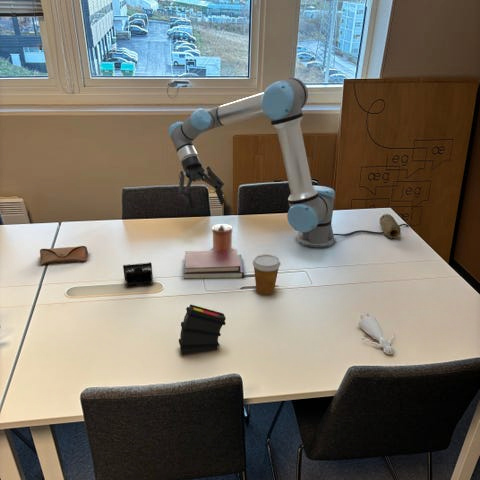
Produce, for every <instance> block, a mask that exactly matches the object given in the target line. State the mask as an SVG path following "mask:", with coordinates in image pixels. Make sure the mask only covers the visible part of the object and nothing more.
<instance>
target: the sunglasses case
mask: <svg viewBox="0 0 480 480" xmlns="http://www.w3.org/2000/svg"><path fill="white" fill-rule="evenodd" d="M39 255H40V257H39V258H40V259H39V266H46V265H57V264H74V263H83V262H87V261H88V258H89V252H88V248H87V246H85V245H79V246H67V247H53V248H40V250H39Z"/></svg>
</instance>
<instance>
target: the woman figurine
mask: <svg viewBox="0 0 480 480" xmlns="http://www.w3.org/2000/svg"><path fill="white" fill-rule="evenodd" d="M358 327H359V328H360V329H362V330H363V331H364V332H365V333H366V334H367V335H369V336H370V337H371V338H372V339H374V340H376V341H378V342H379V343H378V342H375V341H372V340H368V339H366V338H365V336H362V337H360V340H361V341H365V342H368V343H370V344H372V345H375V346H377V347H379V348H382V349H383V353H384V354H386V355H392V354H394V352H395V350H394V347H393V346H392V345H391V343H392V341H393V339H394V337H395V335H396V332H393V333H392V336H391V337H390V338H389V340H388V337H384V336H385V335H384V332H383V330H382V328H381V326H380V324H379V321H378V319H377V317H376V316H374V315H370V314H369V313H367V315H366V316H364V315H363V314H360V320H359V322H358Z"/></svg>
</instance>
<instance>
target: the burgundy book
mask: <svg viewBox="0 0 480 480" xmlns="http://www.w3.org/2000/svg"><path fill="white" fill-rule="evenodd" d="M238 255H239V254H238V250H237V249H232V250H217V251H213V250H191V251H190V250H188V251H187V250H186V251H185V252H184V261H185V271H186V273H213V272H240V263H239V258H238Z"/></svg>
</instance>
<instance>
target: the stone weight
mask: <svg viewBox="0 0 480 480" xmlns="http://www.w3.org/2000/svg"><path fill="white" fill-rule="evenodd" d="M379 225H380V228H381V230H382V232H384V235H385V236H386V237H387V238H389V239H397V238H399V237H400V235H401V231H402V230H401V226H400V227H399V225H400V224H398V222H397V220H396V219H395V218H394V217H393V216H392V215H391V214H389V213H384V214H382V215H381V216H380V217H379Z"/></svg>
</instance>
